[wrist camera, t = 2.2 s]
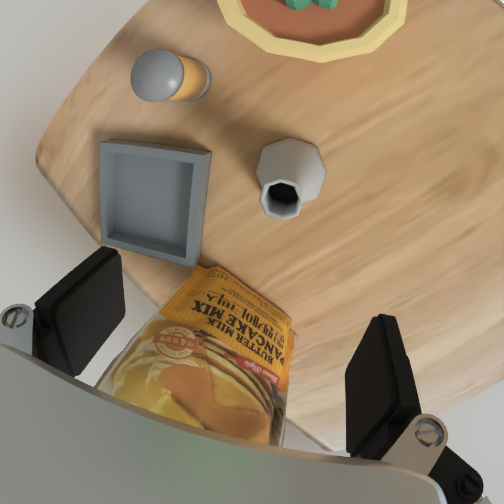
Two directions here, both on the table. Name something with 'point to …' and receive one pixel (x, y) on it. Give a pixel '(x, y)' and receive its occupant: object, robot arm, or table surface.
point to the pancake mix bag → (210, 360)
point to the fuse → (169, 77)
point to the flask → (289, 177)
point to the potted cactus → (315, 25)
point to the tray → (153, 199)
